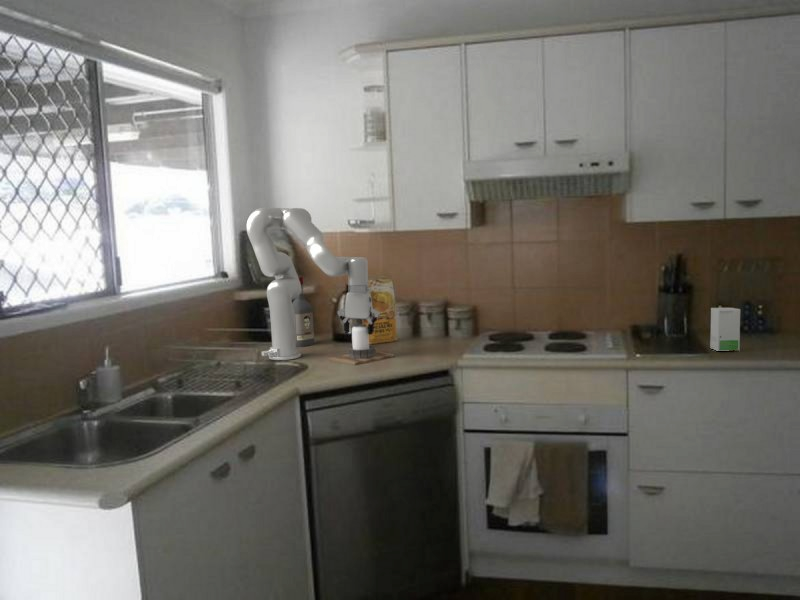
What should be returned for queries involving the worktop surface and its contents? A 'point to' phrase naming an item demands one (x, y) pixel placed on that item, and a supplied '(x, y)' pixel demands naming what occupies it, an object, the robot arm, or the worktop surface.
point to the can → (360, 337)
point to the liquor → (303, 320)
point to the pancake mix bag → (382, 310)
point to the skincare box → (725, 329)
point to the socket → (361, 356)
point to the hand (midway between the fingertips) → (358, 333)
